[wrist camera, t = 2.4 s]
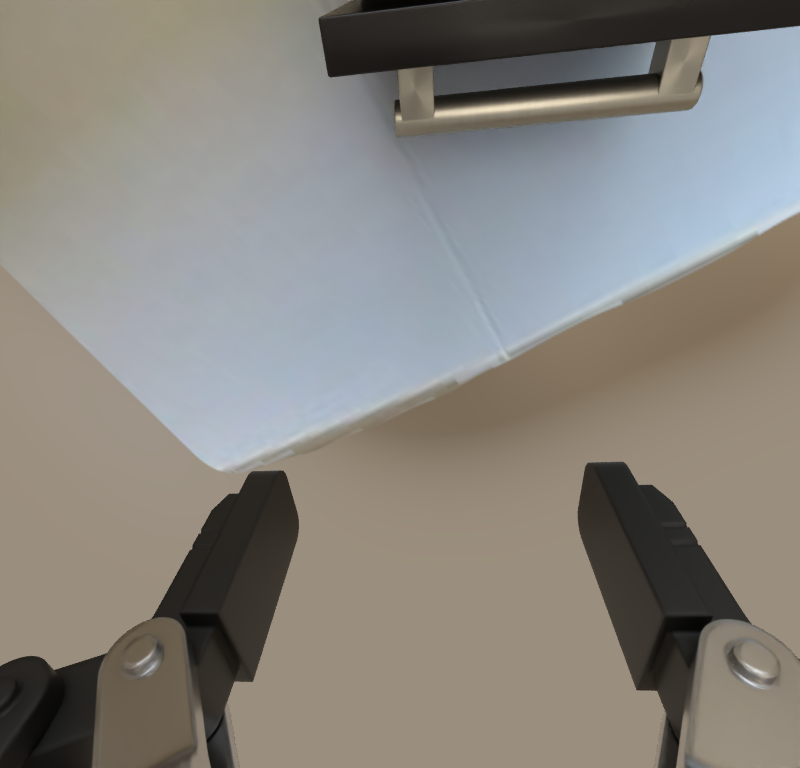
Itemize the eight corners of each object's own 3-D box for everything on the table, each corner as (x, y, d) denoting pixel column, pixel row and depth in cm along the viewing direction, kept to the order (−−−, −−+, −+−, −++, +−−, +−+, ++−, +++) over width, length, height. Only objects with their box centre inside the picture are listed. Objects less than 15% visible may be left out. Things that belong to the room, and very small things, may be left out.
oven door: (645, 64, 26) (788, 127, 16) (372, 93, 27) (343, 168, 17) (671, -44, 22) (868, -51, 12) (360, -5, 24) (317, 17, 14)
